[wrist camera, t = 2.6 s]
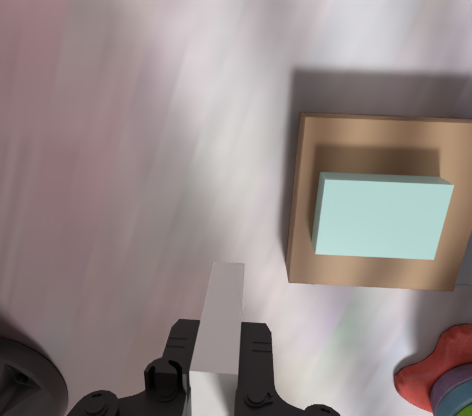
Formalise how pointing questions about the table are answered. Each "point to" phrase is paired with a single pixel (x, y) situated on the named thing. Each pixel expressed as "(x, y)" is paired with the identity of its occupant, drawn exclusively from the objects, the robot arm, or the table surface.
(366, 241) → the mint green block
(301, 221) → the tan flat square slab
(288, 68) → the table surface
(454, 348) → the stacking bear
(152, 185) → the table surface
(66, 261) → the table surface
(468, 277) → the mat
